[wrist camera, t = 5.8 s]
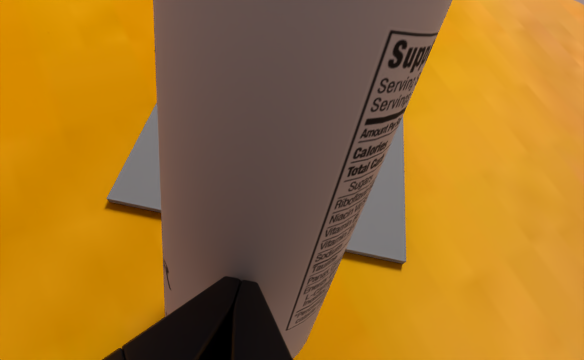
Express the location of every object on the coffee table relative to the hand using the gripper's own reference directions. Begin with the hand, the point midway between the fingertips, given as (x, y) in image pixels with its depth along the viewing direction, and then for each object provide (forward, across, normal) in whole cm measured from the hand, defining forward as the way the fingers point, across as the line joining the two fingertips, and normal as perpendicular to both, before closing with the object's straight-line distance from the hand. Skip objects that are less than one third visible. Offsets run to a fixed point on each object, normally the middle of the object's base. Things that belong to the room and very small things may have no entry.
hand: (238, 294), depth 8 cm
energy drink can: (+5, 0, +5) cm, 7 cm away
